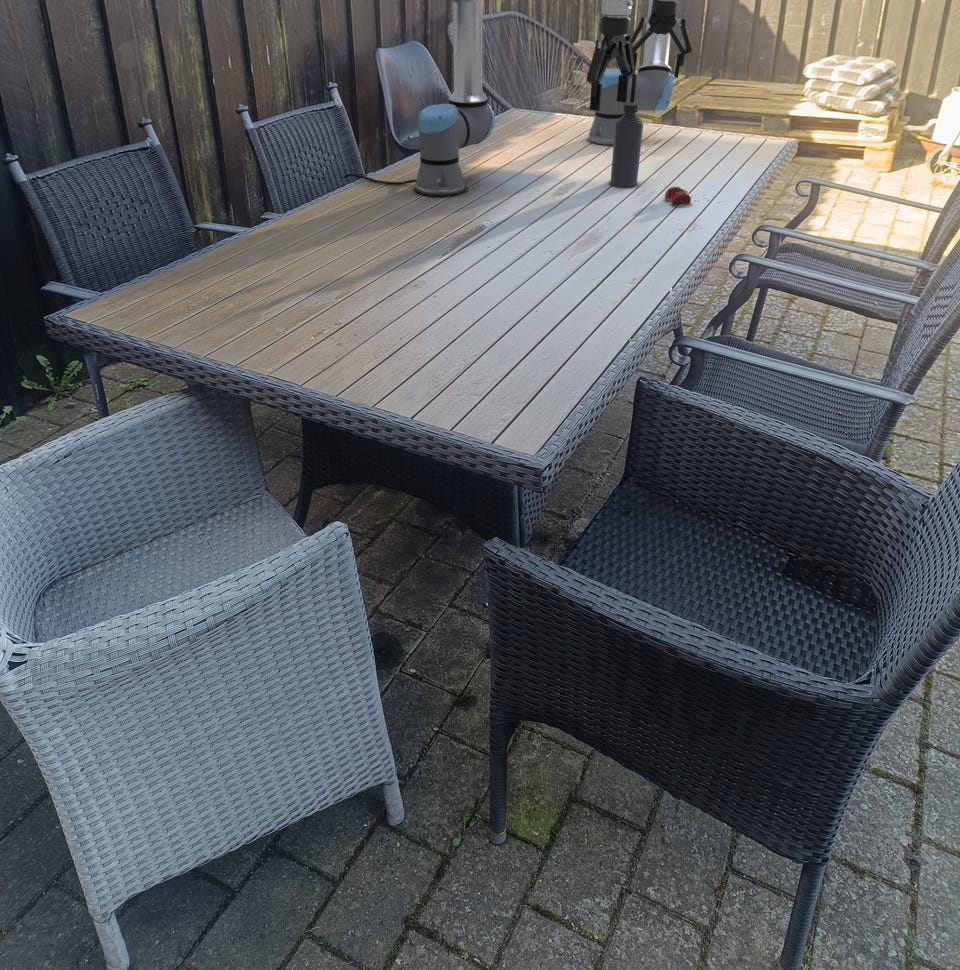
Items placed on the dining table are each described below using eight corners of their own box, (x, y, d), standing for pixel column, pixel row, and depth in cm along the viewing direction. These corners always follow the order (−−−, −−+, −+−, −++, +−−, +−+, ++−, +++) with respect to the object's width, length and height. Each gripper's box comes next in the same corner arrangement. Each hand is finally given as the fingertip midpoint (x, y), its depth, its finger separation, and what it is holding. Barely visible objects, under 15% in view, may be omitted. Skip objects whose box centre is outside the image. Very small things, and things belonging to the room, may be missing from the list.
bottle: (632, 189, 259) (641, 109, 246) (607, 185, 262) (613, 107, 249) (639, 181, 265) (648, 104, 252) (614, 178, 268) (621, 101, 255)
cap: (635, 113, 249) (636, 106, 248) (621, 112, 250) (622, 104, 249) (639, 110, 252) (640, 103, 251) (625, 109, 253) (626, 102, 252)
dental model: (681, 182, 249) (693, 190, 243) (680, 196, 252) (692, 205, 246) (664, 184, 248) (675, 192, 242) (662, 199, 251) (674, 207, 245)
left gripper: (602, 22, 204) (595, 116, 216) (653, 12, 219) (644, 100, 232) (576, 19, 207) (570, 112, 220) (628, 10, 223) (620, 96, 236)
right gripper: (625, -1, 250) (616, 77, 263) (709, 2, 249) (696, 80, 262) (622, -5, 256) (613, 72, 269) (704, -1, 255) (692, 75, 268)
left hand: (608, 106), depth 226 cm, fingers open, 13 cm apart
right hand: (654, 76), depth 265 cm, fingers open, 13 cm apart
